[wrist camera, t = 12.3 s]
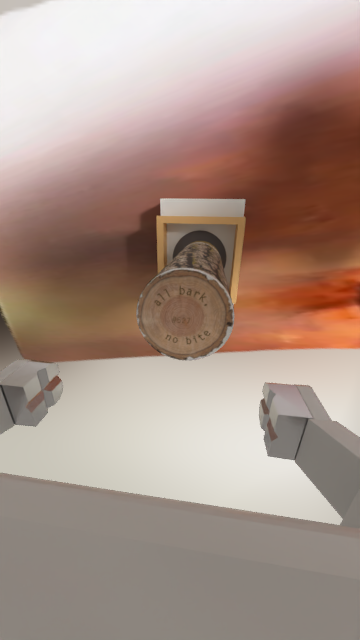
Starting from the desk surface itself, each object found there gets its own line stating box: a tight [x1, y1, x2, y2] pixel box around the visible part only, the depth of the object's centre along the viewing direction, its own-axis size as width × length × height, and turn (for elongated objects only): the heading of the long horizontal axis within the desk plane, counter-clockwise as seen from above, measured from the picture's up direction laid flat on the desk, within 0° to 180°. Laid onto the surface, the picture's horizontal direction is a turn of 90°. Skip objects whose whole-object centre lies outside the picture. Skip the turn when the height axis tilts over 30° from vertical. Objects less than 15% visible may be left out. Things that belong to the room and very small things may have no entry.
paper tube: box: [137, 241, 234, 360], centre depth 27 cm, size 7×7×25 cm
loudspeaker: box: [156, 199, 246, 304], centre depth 40 cm, size 13×18×8 cm
